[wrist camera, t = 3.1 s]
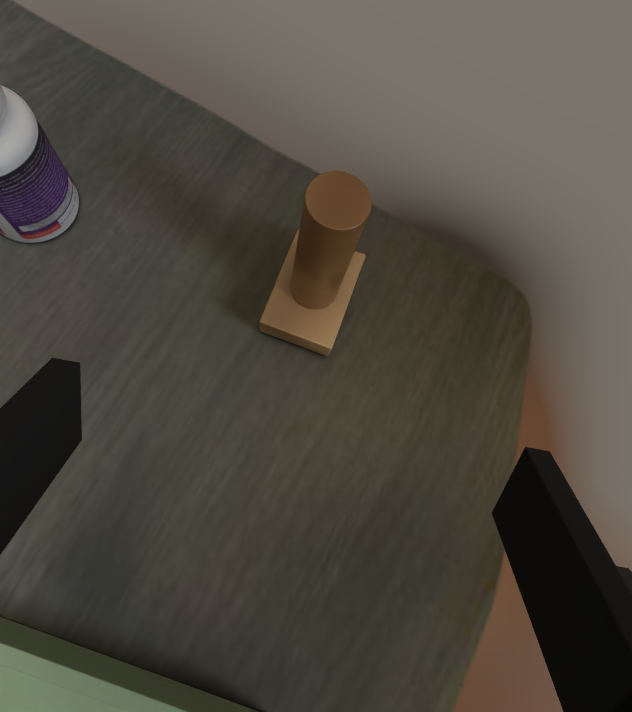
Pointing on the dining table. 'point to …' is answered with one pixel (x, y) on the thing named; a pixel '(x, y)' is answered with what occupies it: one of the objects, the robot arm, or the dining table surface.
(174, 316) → the dining table surface
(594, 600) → the robot arm
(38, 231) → the pill bottle
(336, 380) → the dining table surface
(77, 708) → the tray
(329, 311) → the cylinder on block base
